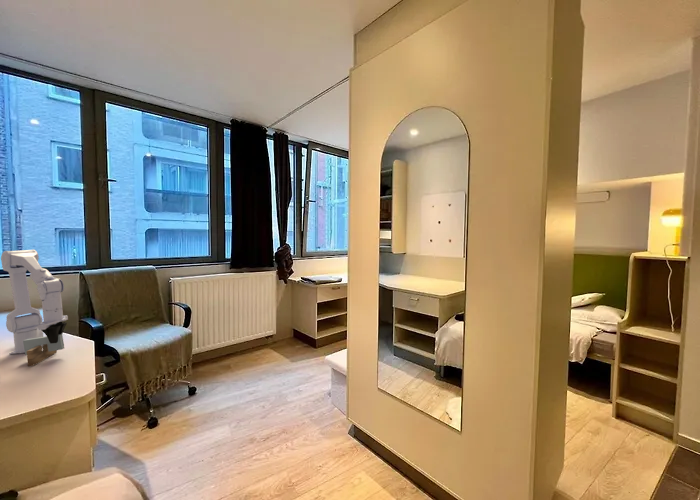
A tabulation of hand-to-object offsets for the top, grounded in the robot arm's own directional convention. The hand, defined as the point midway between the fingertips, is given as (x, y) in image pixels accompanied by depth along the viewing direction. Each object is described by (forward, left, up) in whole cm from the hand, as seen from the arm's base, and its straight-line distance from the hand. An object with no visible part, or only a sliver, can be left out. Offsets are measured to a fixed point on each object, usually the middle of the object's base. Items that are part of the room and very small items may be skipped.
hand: (55, 342), depth 124 cm
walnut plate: (0, -5, -6) cm, 8 cm away
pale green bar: (0, -4, -4) cm, 5 cm away
